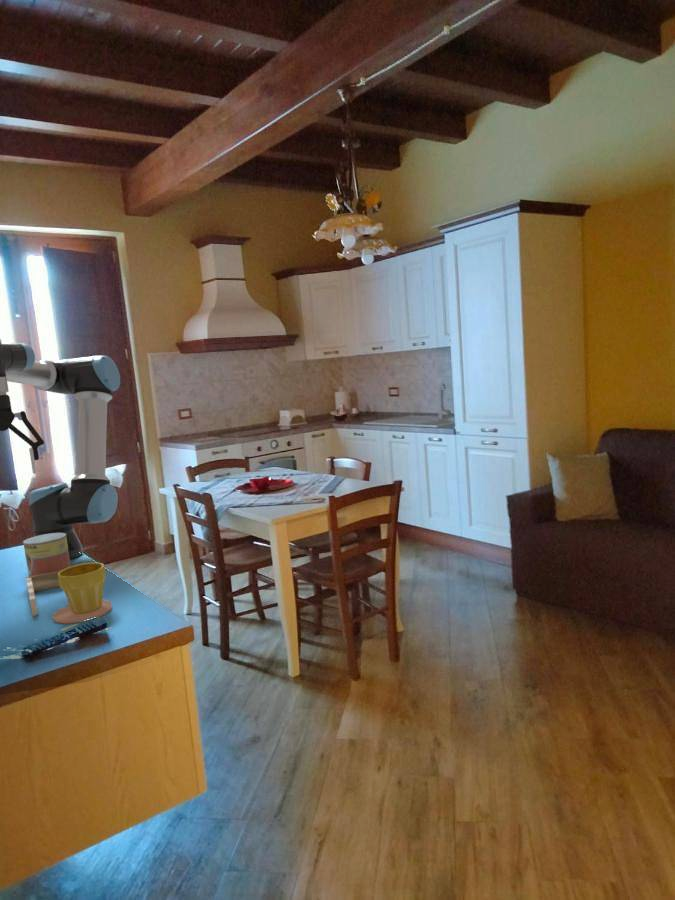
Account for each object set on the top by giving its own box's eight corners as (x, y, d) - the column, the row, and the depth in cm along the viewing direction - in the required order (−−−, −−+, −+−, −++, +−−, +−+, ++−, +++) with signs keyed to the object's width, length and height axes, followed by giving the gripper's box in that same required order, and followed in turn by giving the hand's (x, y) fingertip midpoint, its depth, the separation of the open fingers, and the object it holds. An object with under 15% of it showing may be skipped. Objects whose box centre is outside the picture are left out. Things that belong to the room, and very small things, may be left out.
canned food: (25, 580, 188) (18, 539, 186) (66, 570, 194) (60, 530, 193) (34, 588, 179) (27, 545, 177) (77, 577, 185) (71, 536, 184)
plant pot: (63, 620, 149) (57, 579, 148) (63, 607, 158) (57, 567, 157) (111, 610, 153) (105, 569, 151) (108, 597, 162) (102, 559, 161)
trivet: (62, 607, 161) (61, 604, 161) (116, 599, 162) (116, 596, 162) (46, 627, 148) (45, 623, 148) (105, 619, 150) (105, 615, 149)
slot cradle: (28, 591, 176) (25, 577, 176) (89, 578, 183) (87, 564, 183) (32, 615, 157) (29, 599, 156) (100, 599, 164) (98, 584, 163)
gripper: (-66, 400, 158) (-51, 487, 161) (46, 389, 169) (59, 471, 172) (-63, 400, 164) (-49, 483, 167) (44, 390, 176) (56, 468, 178)
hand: (6, 477), depth 169 cm, fingers open, 13 cm apart
